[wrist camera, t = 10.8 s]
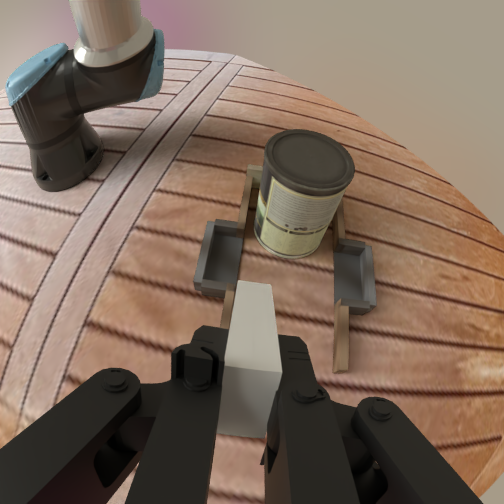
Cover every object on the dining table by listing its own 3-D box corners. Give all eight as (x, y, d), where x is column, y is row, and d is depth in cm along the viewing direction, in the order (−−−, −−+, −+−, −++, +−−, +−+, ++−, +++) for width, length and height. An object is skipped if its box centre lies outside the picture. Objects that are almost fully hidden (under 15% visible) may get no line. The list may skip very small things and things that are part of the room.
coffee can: (239, 216, 44) (247, 140, 32) (295, 193, 47) (316, 122, 35) (278, 272, 39) (303, 202, 27) (335, 241, 43) (372, 174, 31)
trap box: (369, 374, 33) (384, 368, 30) (181, 355, 33) (176, 347, 29) (358, 201, 48) (366, 185, 44) (221, 179, 47) (221, 160, 44)
